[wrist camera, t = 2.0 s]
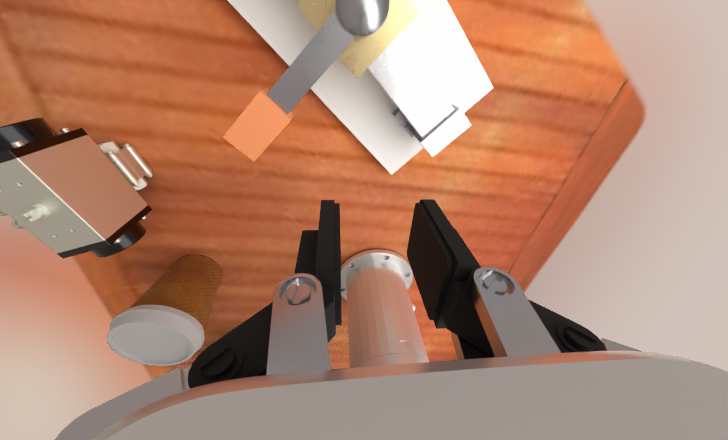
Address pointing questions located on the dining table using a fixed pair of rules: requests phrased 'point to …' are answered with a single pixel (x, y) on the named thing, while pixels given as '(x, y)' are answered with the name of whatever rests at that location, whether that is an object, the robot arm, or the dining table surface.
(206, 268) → the disposable coffee cup
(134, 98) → the dining table surface
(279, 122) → the valve lever
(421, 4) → the valve stand
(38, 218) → the pneumatic valve
